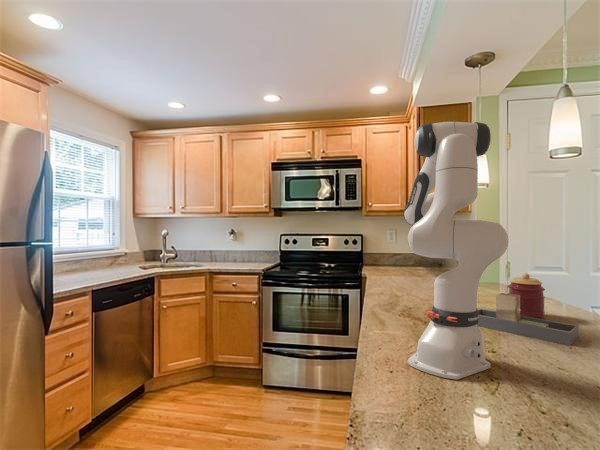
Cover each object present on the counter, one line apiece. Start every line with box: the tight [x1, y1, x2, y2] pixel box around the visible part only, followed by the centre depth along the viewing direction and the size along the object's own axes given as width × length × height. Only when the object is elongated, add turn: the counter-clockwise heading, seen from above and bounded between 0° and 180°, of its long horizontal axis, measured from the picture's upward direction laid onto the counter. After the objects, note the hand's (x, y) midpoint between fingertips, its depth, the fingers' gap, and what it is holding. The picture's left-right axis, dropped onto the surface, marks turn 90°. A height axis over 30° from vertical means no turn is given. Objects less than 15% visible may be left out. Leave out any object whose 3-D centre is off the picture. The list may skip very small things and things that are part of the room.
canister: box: [507, 272, 546, 319], centre depth 145 cm, size 13×13×18 cm
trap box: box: [477, 307, 580, 346], centre depth 125 cm, size 12×32×4 cm, turn 42°
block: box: [495, 292, 520, 322], centre depth 128 cm, size 6×6×9 cm
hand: (465, 255), depth 139 cm, fingers open, 3 cm apart
